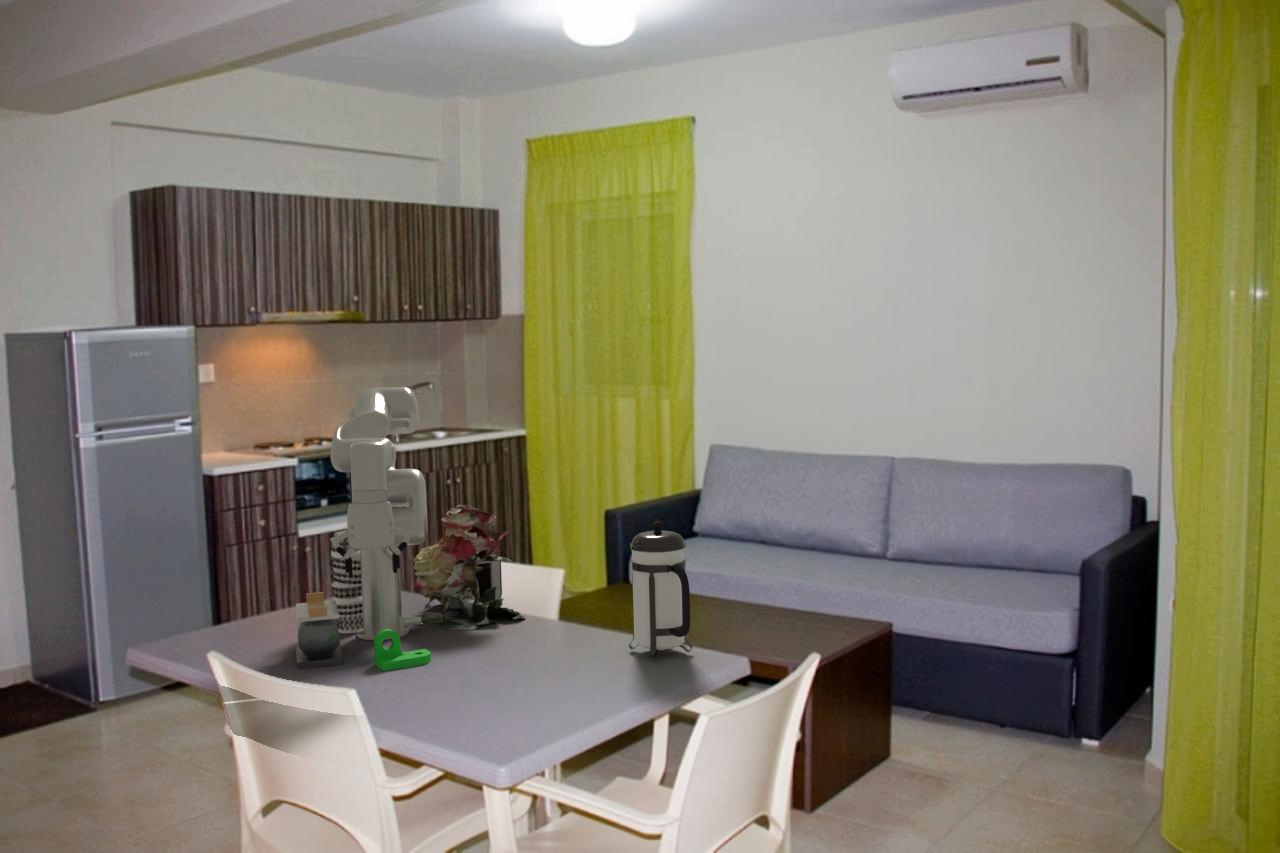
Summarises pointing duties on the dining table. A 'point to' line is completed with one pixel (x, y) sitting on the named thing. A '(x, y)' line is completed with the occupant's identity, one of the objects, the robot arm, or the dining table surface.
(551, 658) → the dining table surface
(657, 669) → the dining table surface
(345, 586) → the decorative candle
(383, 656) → the mechanical part
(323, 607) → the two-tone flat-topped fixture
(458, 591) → the rose bouquet
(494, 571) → the alarm clock
